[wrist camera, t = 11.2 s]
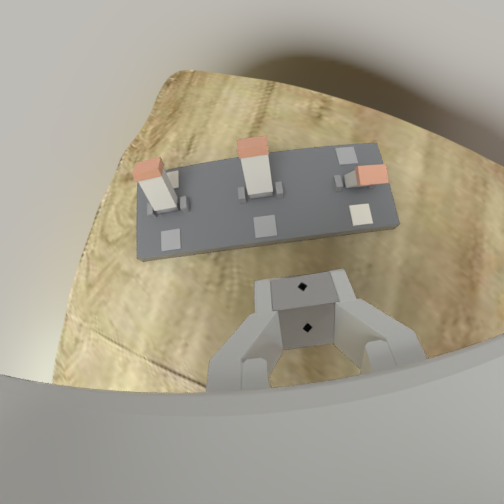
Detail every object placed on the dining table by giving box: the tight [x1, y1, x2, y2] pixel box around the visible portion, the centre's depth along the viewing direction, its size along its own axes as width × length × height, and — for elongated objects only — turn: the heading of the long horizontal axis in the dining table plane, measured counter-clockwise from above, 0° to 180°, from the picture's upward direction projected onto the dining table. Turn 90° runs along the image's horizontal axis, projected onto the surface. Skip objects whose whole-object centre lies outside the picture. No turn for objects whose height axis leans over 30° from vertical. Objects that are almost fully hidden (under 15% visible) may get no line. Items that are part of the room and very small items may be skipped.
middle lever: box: [237, 136, 273, 199], centre depth 35 cm, size 2×3×8 cm, turn 97°
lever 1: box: [132, 157, 179, 214], centre depth 36 cm, size 2×3×8 cm, turn 97°
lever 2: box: [343, 164, 389, 188], centre depth 33 cm, size 2×3×8 cm, turn 96°
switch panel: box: [137, 143, 399, 262], centre depth 39 cm, size 12×34×4 cm, turn 96°
